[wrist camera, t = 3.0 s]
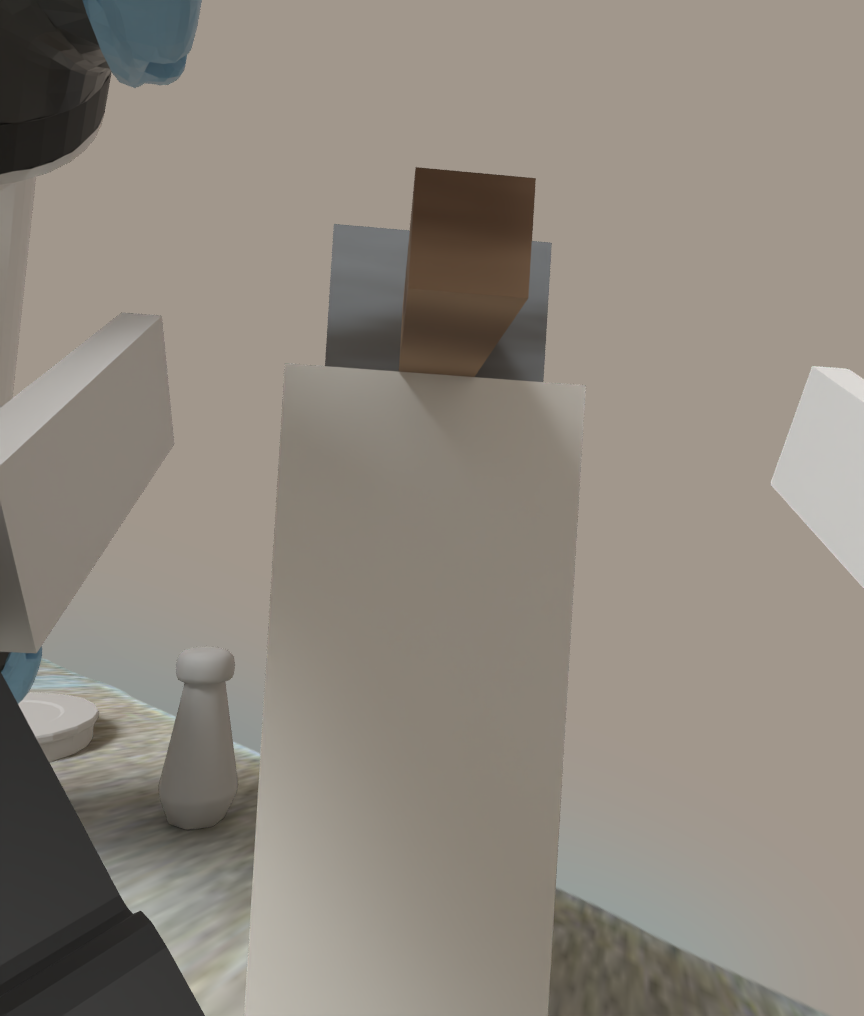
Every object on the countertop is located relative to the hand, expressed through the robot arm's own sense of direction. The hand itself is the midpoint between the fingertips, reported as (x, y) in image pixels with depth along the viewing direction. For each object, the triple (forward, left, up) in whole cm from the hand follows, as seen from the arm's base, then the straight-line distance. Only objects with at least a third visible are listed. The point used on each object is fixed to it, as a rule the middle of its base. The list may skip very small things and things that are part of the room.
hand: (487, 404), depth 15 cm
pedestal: (-14, +16, -27) cm, 34 cm away
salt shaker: (-39, +23, -27) cm, 53 cm away
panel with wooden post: (-8, +9, +3) cm, 13 cm away
